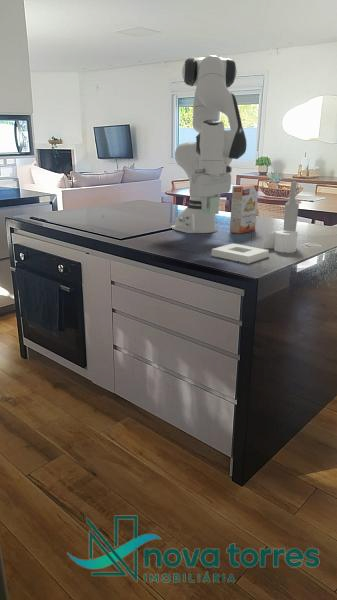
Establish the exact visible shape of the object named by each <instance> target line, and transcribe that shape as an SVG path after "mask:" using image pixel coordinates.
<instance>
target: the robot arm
mask: <svg viewBox="0 0 337 600" xmlns="http://www.w3.org/2000/svg"><path fill="white" fill-rule="evenodd" d="M181 72H182V73H181V75H182V80H183V82H184V83H185V85H187V86H190V87H196V88H195V91H194V97H193V109H192V127H193V129H194V131H195V132H197V133H198V134H197V135H196V136H195V138H196V139H195V140H196V141H195V142H194V141H189V142H184V143H179V145H177V147H176V149H175V151H174V159H175V161H176V164H177V165H178V166H179V167H180V169H182V170H183V171H184V172H185V174H186V175H187V178H188V181H189V196H190V197H189V200H185V204H187V206H186V208H185V209H183V210H182V211H181V212H180V213H179V214H177V215H176V218H175V224H172V225H171V226H170V229H171V228H172V230H174V231H178V232H182V233H186V234H208V233H216V232H217V231H218V229H217V226H216V225H217V224H216V217H215V215H216V214H213V215H209V214H204V213H201V211H202V208H203V209H206V208H208V203H207V202H206V199H207V196H215V197H219V200H220V198H221V194H228V193H230V191H231V187H232V174H231V173H233V172H232V171H233V168H232V166H230V165H231V164H232V161H233V159H234V160H238V159H240V158H241V157H242V156H243V155H245V153H246V151H247V146H248V145H247V137H246V134H245V131H244V128H243V124H242V119H241V113H240V110H239V106H238V102H237V98H236V96H235V94H233V93H232V92H231V91H230V90H229V89H228V88H231V86H232V85H233V84H234V83H235V80H236V77H237V73H238V71H237V65H236V62H235V61H234V59H231V58H228V57H226V58H224V57H219V56H217V55H212V54H211V55H207V56H205V57H202V56H201V57H195V56H193V57H188V58H187V59H185V61H184V64H183V65H182V70H181ZM219 112H220V113H223V114H224V115H226V117H227V119H228V123H229V128H230V129H229V130H225V125H224V121H222V120H220V119H219Z"/></svg>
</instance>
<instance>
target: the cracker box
mask: <svg viewBox="0 0 337 600" xmlns="http://www.w3.org/2000/svg"><path fill="white" fill-rule="evenodd" d="M259 187H260V186H259V184H249V183H248V184H239V185H233V186H232V192H231V205H230V206H231V207H230V209H231V210H230V224H229V233H232V234H238V235H241V234H244V233H249V232H252V231H255V230H256V224H257V223H256V221H257V211H258V210H257V208H258V199H259V198H258V197H259Z"/></svg>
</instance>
